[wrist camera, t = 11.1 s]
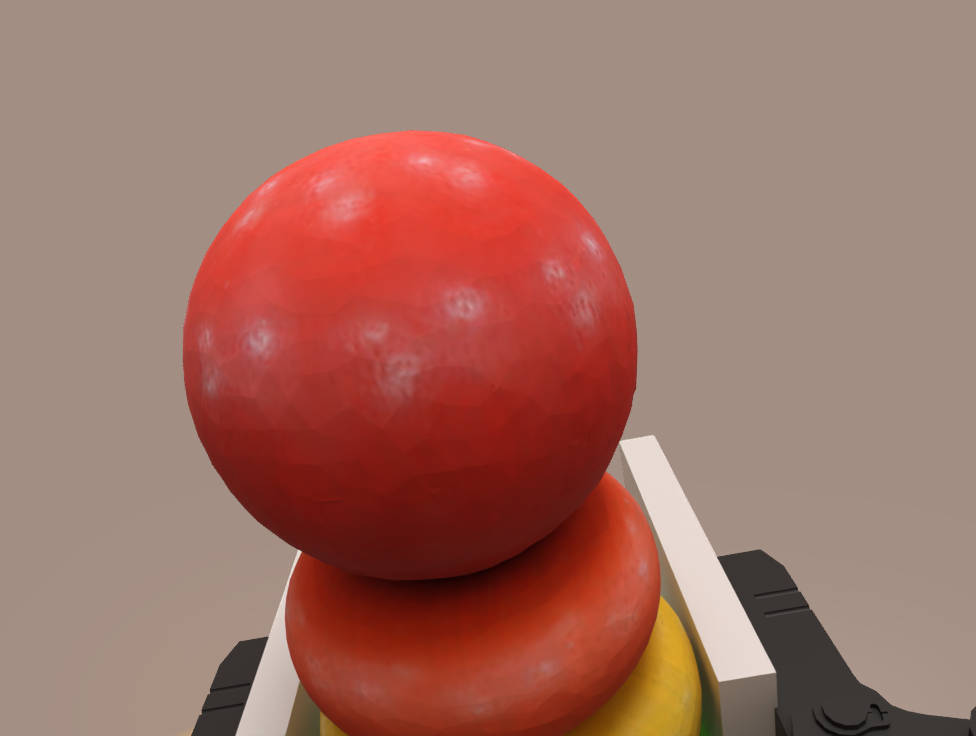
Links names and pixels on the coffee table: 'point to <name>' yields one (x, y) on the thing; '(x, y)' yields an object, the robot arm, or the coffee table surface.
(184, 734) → the coffee table surface
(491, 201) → the stacking toy
